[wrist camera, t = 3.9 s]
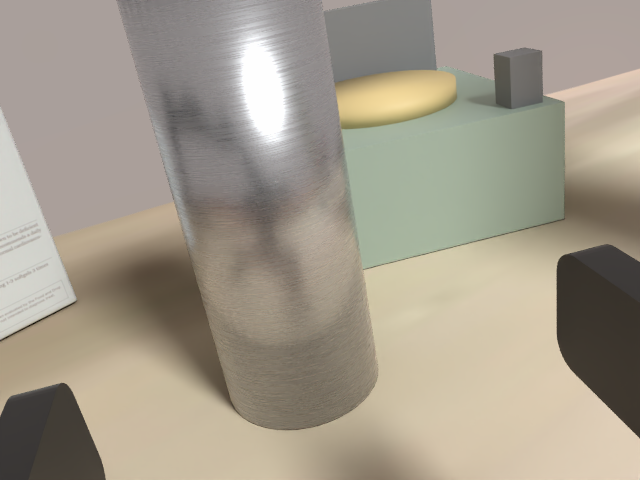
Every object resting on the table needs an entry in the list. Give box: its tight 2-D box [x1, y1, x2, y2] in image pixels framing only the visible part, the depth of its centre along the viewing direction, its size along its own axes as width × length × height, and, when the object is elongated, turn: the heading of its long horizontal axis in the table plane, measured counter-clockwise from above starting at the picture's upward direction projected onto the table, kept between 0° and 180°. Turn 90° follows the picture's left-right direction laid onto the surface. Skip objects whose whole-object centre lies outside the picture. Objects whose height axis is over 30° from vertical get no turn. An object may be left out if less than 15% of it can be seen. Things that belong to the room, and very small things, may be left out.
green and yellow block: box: [323, 0, 565, 269], centre depth 34 cm, size 14×14×11 cm
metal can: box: [117, 0, 378, 430], centre depth 19 cm, size 6×6×17 cm
